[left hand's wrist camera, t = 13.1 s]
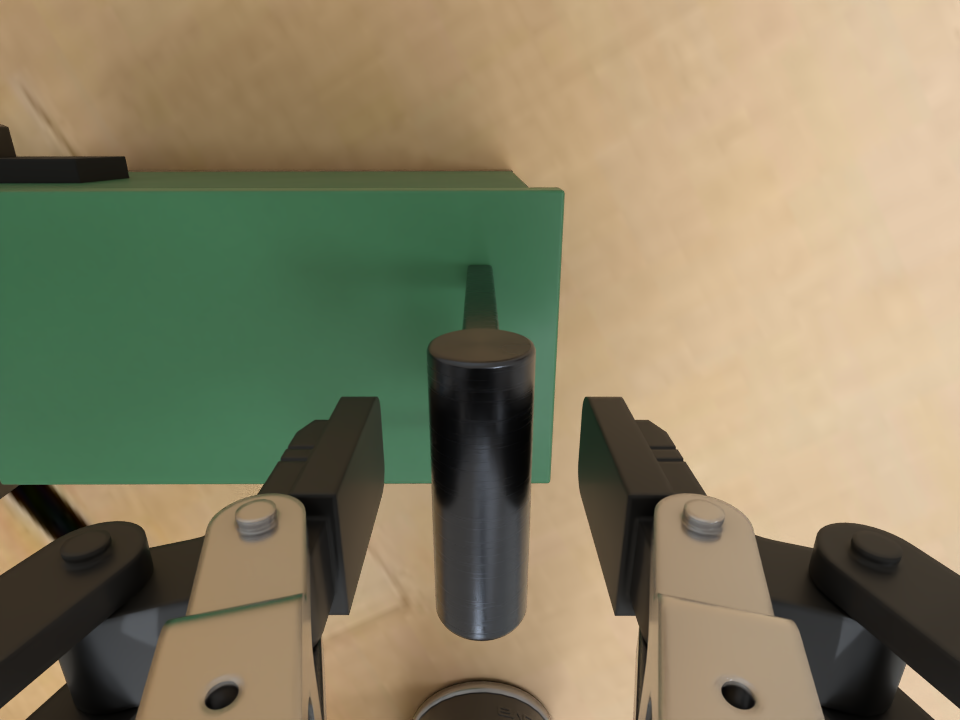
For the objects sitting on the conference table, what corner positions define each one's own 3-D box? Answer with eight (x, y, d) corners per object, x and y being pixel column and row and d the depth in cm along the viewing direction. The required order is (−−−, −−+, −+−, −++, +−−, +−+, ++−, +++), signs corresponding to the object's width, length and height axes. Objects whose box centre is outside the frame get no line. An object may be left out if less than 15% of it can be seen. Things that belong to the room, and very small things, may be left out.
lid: (559, 187, 16) (648, 237, 8) (546, 467, 19) (598, 714, 11) (-70, 188, 16) (-663, 240, 8) (24, 468, 19) (-321, 718, 11)
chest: (511, 170, 25) (530, 186, 16) (508, 363, 29) (522, 466, 20) (128, 170, 25) (-68, 187, 16) (169, 363, 29) (25, 467, 20)
